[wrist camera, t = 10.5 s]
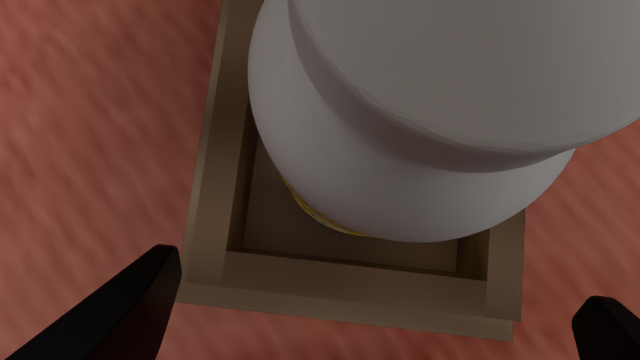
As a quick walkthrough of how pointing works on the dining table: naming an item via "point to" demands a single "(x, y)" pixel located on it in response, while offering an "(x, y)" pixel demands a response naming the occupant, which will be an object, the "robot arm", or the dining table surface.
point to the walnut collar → (322, 234)
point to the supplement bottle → (436, 104)
